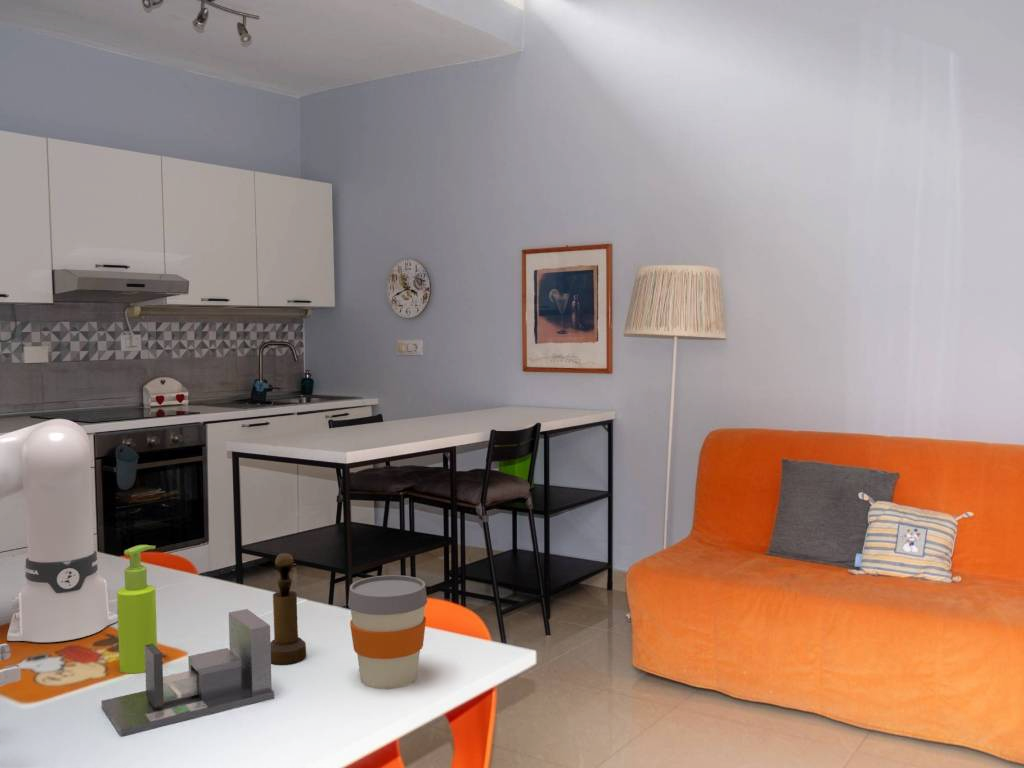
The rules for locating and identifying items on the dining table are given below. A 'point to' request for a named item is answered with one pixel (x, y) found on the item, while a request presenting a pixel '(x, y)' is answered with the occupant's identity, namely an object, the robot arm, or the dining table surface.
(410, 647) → the reusable coffee cup
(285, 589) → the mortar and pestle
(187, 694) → the plunger
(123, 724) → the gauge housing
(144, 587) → the soap dispenser
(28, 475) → the robot arm
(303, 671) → the dining table surface
